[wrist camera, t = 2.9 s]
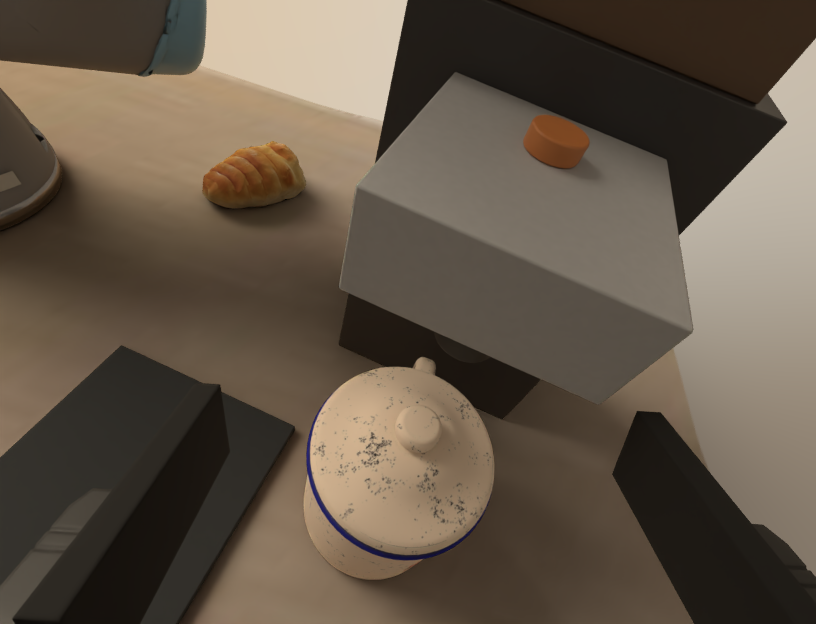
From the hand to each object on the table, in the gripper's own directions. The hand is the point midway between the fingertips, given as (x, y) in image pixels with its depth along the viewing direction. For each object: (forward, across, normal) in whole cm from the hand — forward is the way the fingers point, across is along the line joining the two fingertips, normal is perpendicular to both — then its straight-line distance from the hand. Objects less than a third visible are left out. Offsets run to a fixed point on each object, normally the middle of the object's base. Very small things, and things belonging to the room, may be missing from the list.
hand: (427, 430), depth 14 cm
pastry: (+33, -16, 0) cm, 37 cm away
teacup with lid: (+9, -2, -13) cm, 16 cm away
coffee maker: (+16, +1, -10) cm, 19 cm away
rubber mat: (+7, -16, -11) cm, 20 cm away
